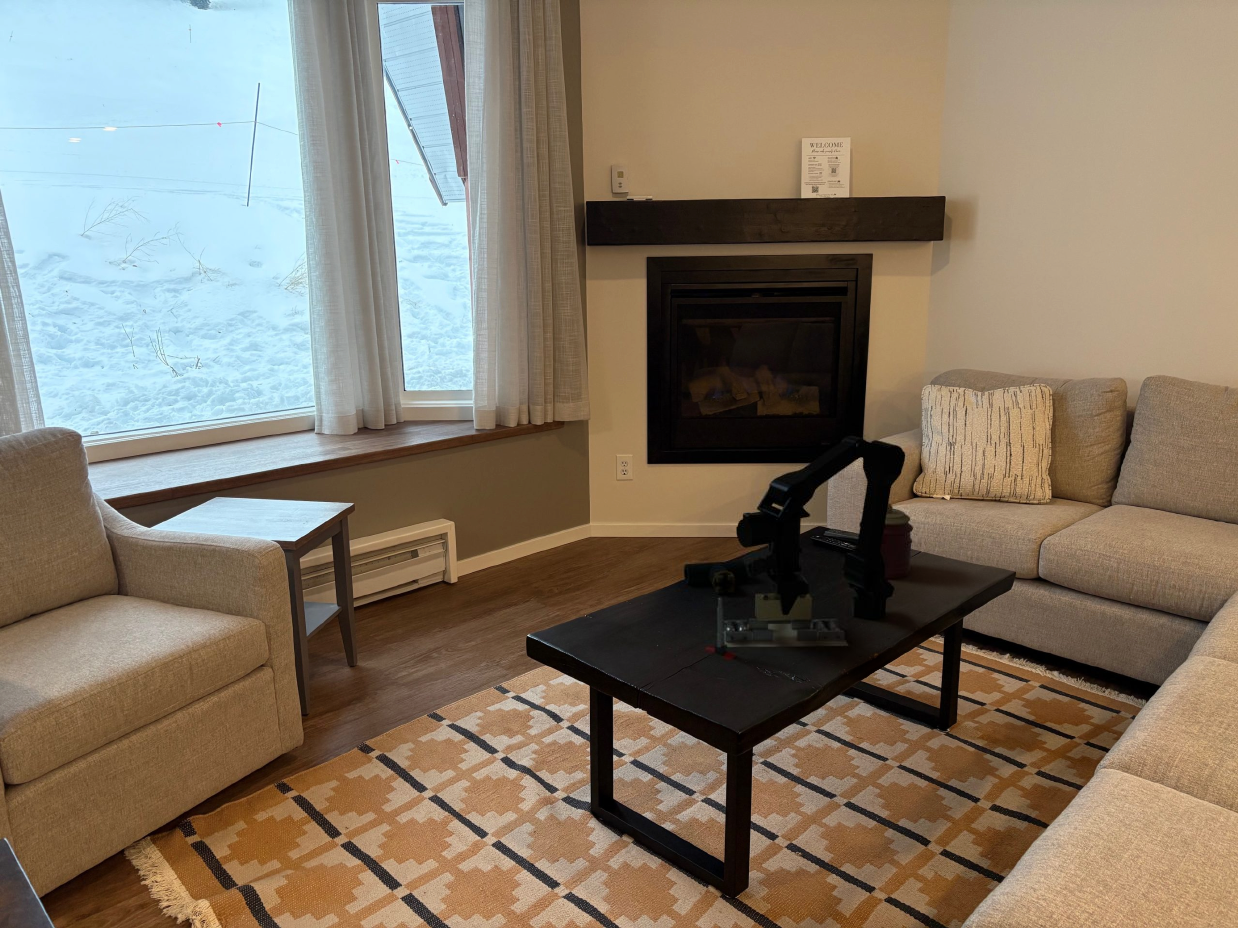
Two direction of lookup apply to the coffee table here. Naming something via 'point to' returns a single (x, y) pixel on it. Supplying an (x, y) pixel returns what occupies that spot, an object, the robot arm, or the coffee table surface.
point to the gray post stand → (720, 635)
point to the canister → (896, 543)
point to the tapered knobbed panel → (771, 608)
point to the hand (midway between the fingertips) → (783, 610)
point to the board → (783, 639)
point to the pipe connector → (716, 574)
